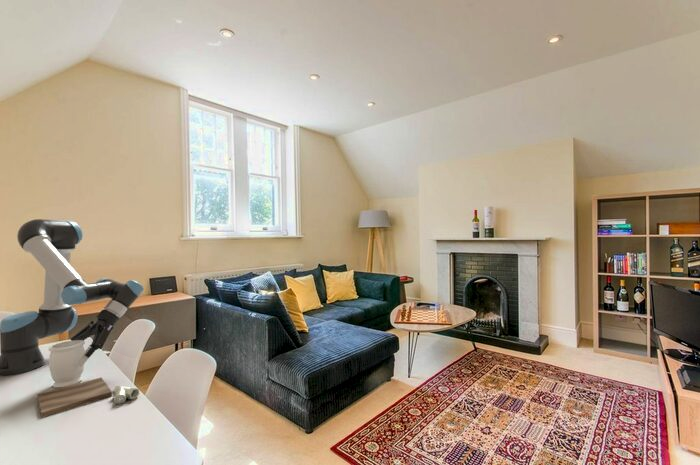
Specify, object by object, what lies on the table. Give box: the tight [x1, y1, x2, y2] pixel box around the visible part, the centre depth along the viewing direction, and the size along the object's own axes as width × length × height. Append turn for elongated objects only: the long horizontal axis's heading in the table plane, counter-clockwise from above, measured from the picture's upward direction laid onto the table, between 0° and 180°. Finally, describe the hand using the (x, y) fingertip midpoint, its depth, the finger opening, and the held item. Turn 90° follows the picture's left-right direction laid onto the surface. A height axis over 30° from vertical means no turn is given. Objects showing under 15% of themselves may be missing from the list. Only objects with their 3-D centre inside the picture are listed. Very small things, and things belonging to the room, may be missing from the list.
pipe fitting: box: [111, 385, 140, 405], centre depth 113 cm, size 8×4×7 cm
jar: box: [48, 340, 86, 389], centre depth 127 cm, size 11×10×15 cm
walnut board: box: [36, 377, 113, 418], centre depth 115 cm, size 18×18×2 cm
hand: (69, 362), depth 127 cm, fingers open, 13 cm apart
